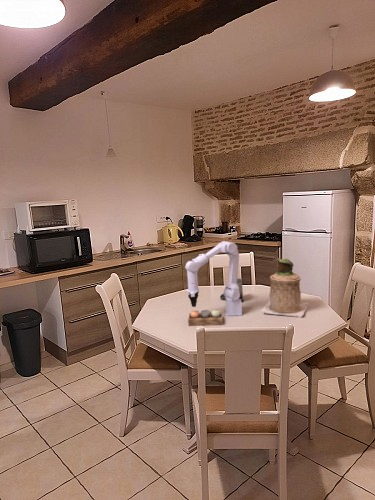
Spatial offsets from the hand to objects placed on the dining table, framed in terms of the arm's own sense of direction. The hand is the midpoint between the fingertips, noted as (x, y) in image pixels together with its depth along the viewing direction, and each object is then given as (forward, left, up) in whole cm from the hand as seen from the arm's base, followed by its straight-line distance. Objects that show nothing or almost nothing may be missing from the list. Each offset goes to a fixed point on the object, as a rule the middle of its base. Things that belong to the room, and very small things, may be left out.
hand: (194, 305), depth 200 cm
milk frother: (-23, -38, -10) cm, 46 cm away
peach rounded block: (0, 0, -7) cm, 7 cm away
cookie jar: (-54, -16, -10) cm, 57 cm away
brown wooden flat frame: (-6, 0, -10) cm, 12 cm away
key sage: (-12, 0, -7) cm, 14 cm away
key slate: (-6, 0, -7) cm, 9 cm away
